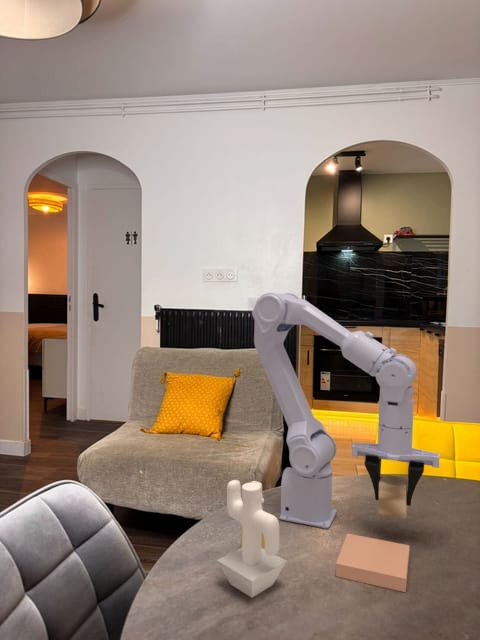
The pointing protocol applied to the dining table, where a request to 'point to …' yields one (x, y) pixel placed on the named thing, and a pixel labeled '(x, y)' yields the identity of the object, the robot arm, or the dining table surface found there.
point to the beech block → (393, 496)
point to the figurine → (252, 541)
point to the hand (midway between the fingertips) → (393, 500)
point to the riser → (374, 562)
